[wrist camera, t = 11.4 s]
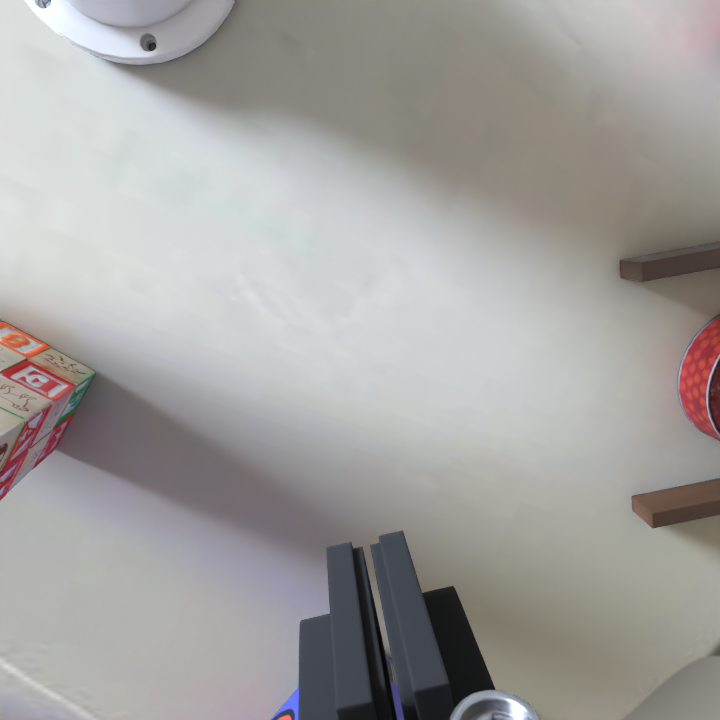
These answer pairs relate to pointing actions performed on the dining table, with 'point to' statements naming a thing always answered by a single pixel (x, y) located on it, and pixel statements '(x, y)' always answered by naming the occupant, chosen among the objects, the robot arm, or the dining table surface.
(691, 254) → the bay
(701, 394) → the canned food
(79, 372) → the stack of blocks
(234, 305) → the dining table surface
